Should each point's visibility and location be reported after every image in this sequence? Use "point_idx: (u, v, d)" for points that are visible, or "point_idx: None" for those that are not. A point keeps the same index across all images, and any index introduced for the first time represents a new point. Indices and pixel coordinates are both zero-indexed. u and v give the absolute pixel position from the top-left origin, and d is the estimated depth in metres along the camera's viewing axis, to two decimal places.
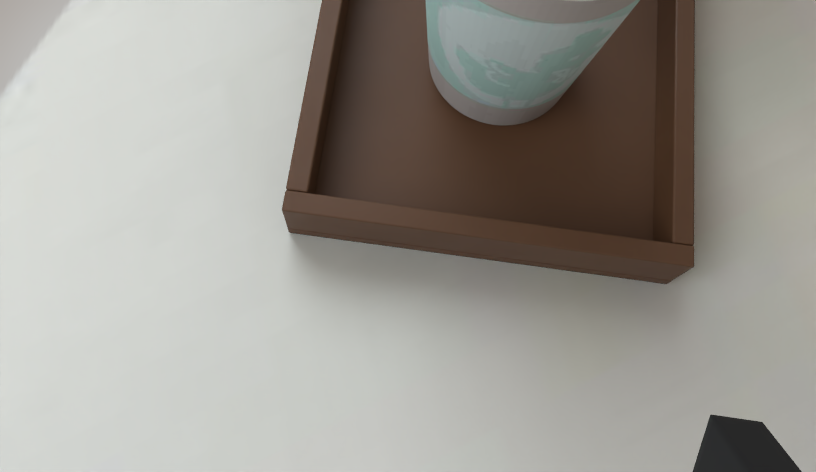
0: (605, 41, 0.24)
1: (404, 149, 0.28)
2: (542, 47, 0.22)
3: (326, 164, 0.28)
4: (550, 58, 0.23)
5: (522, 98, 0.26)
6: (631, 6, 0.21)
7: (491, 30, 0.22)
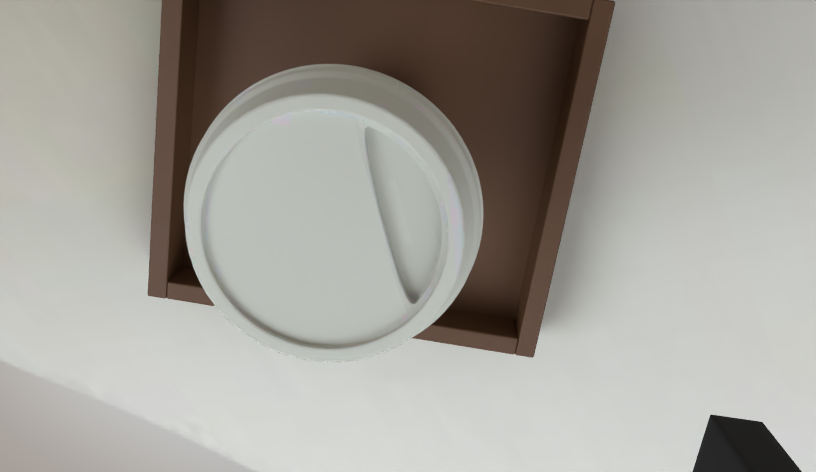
0: None
1: None
2: None
3: (471, 307, 0.32)
4: None
5: None
6: None
7: None
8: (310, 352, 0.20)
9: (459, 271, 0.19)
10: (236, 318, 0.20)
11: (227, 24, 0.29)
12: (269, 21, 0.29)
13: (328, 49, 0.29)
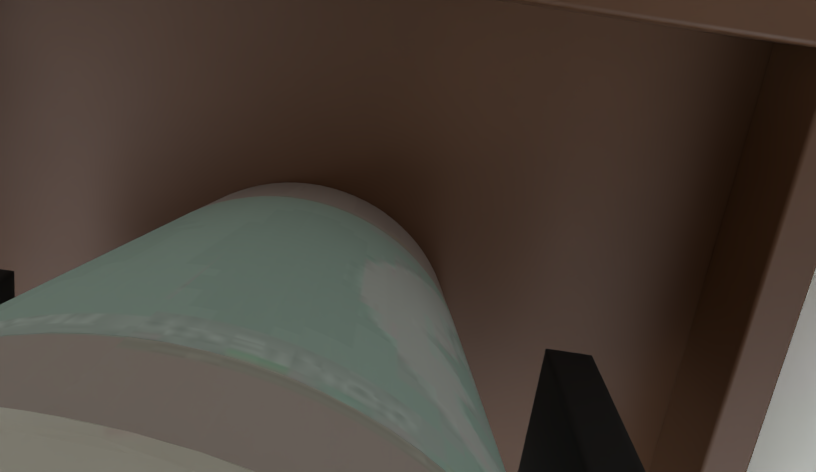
0: (427, 337, 0.08)
1: None
2: None
3: None
4: None
5: None
6: None
7: None
8: None
9: None
10: None
11: None
12: (61, 53, 0.13)
13: (199, 113, 0.13)
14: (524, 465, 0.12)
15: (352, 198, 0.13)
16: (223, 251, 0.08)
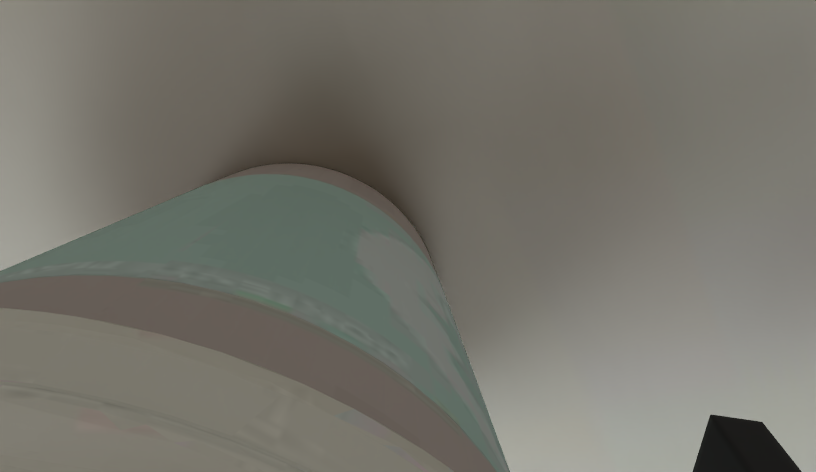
0: (418, 298, 0.09)
1: None
2: None
3: None
4: None
5: None
6: (463, 415, 0.06)
7: None
8: None
9: None
10: None
11: None
12: None
13: None
14: None
15: (348, 178, 0.14)
16: (227, 215, 0.08)
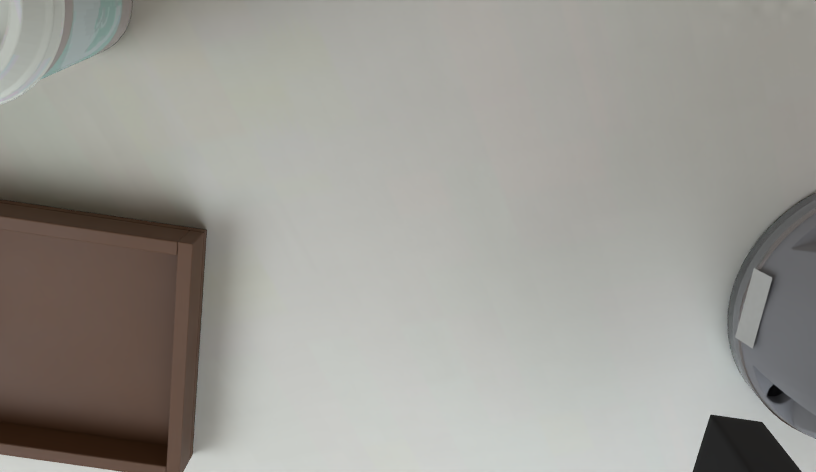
0: None
1: (128, 393, 0.43)
2: None
3: (145, 438, 0.44)
4: None
5: None
6: None
7: (79, 36, 0.30)
8: None
9: (23, 20, 0.25)
10: None
11: None
12: None
13: (13, 263, 0.40)
14: None
15: None
16: None
